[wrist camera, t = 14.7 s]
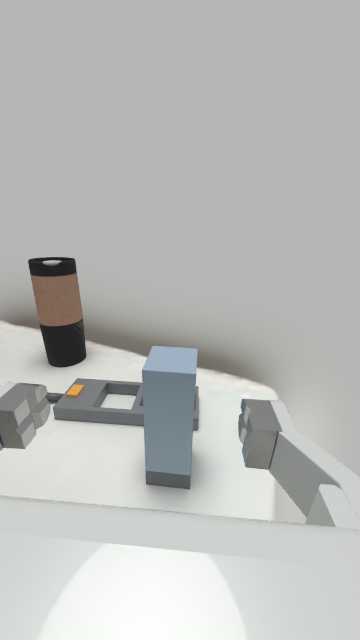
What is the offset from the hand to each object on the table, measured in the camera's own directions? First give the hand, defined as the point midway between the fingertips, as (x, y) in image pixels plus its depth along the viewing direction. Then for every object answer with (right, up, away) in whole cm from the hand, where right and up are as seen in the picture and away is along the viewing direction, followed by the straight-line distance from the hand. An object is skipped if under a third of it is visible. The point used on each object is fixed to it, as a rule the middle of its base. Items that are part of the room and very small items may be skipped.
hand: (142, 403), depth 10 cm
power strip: (-9, -10, +26) cm, 29 cm away
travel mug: (-22, -5, +39) cm, 45 cm away
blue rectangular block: (0, -13, +17) cm, 22 cm away
